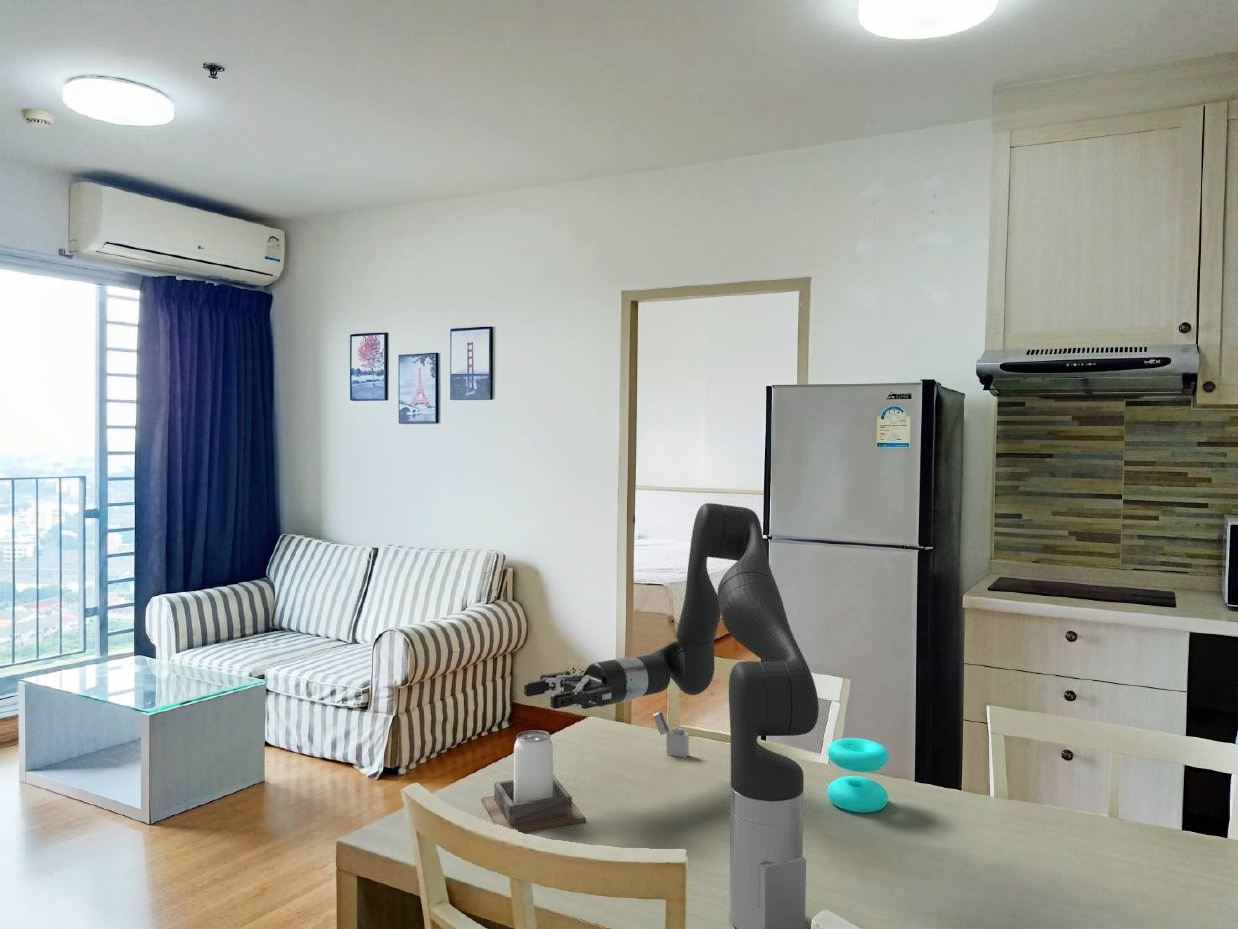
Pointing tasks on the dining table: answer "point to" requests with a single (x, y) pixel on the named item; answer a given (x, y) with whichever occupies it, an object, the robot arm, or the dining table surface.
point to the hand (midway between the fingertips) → (538, 696)
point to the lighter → (673, 737)
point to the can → (533, 766)
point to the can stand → (531, 808)
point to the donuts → (853, 789)
